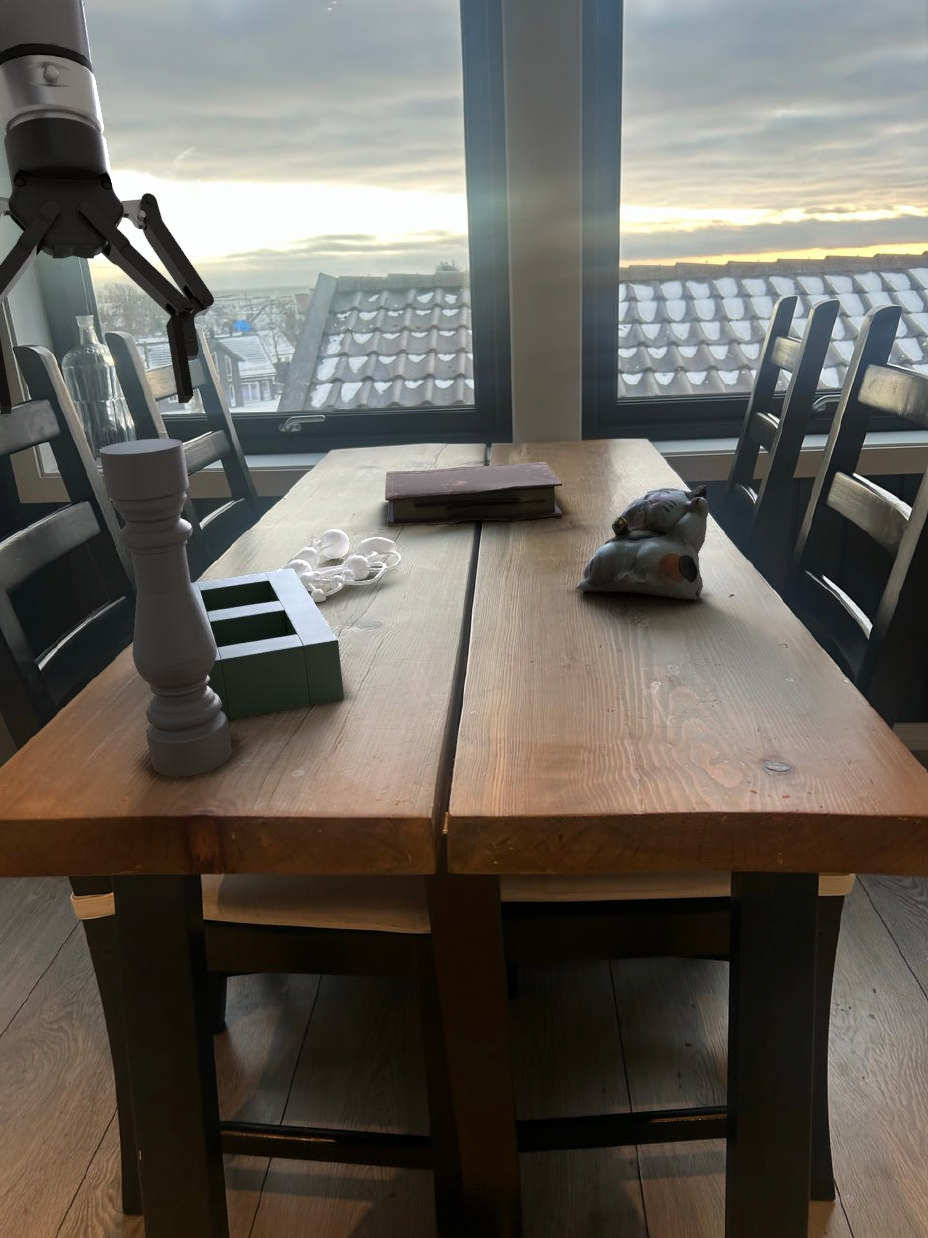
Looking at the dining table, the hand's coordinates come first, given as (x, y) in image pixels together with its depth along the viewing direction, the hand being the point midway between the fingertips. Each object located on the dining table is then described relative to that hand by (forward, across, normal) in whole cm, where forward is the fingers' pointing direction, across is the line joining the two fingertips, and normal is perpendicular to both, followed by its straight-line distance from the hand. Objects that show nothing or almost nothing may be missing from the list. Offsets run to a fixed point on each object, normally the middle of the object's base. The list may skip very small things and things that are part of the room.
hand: (99, 405), depth 79 cm
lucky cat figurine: (+23, +54, +8) cm, 59 cm away
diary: (+8, +57, +51) cm, 77 cm away
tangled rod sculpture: (+16, +28, +32) cm, 45 cm away
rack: (+23, +12, +12) cm, 29 cm away
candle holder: (+29, +2, -2) cm, 29 cm away
